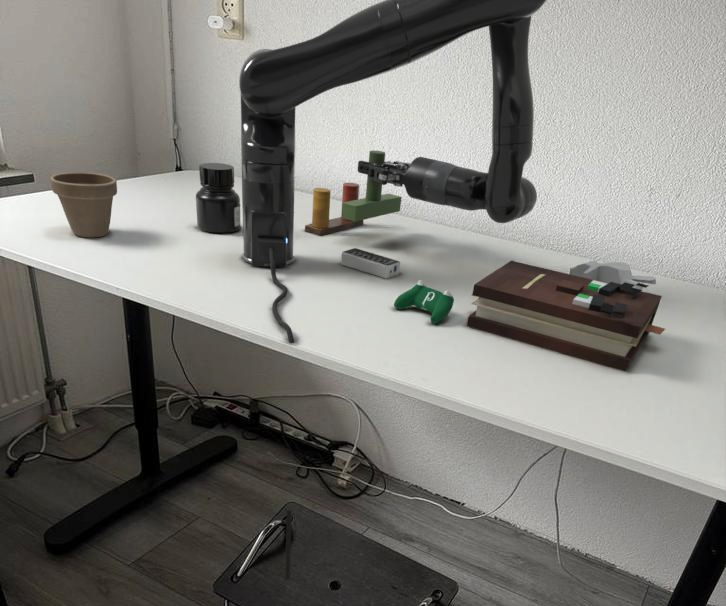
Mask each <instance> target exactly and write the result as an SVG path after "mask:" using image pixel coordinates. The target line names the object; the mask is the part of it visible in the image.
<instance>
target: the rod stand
mask: <svg viewBox="0 0 726 606" xmlns="http://www.w3.org/2000/svg"><path fill="white" fill-rule="evenodd" d="M359 197H360V184H359V183H356V182H343V183H342V199H341V208H342V207H343V202H348V201H353V200H358V199H360V198H359ZM330 207H331V189H329V188H325V187H315V188H313V192H312V213H311V214H312V217H311V219H312V221H311V223H309V224H305V225H304V232H307V233H310V234H313V235H317V236H320V237H321V236H325V235H330V234H333V233H337V232H341V231H345V230H348V229H349V230H350V229H353V228H356V227H357V228H358V227H360V226H361V227H362V226H363V225H364V220H360V221H356V222H355V221H351V220H348V219H344V218H342V211H341V213H340V214H341V215H340V216H339V217H335V218H331V219H330V209H331V208H330Z"/></svg>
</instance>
